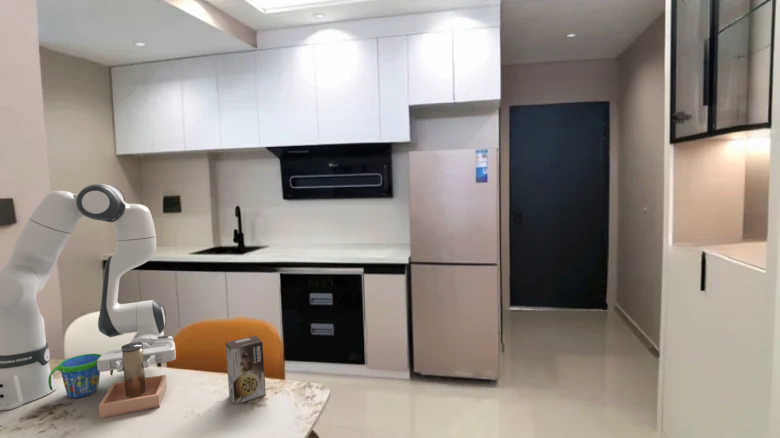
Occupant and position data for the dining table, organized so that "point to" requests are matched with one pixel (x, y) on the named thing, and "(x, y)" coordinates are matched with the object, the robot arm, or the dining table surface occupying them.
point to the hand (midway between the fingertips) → (133, 367)
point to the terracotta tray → (121, 404)
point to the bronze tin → (133, 369)
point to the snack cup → (79, 375)
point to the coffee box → (245, 369)
